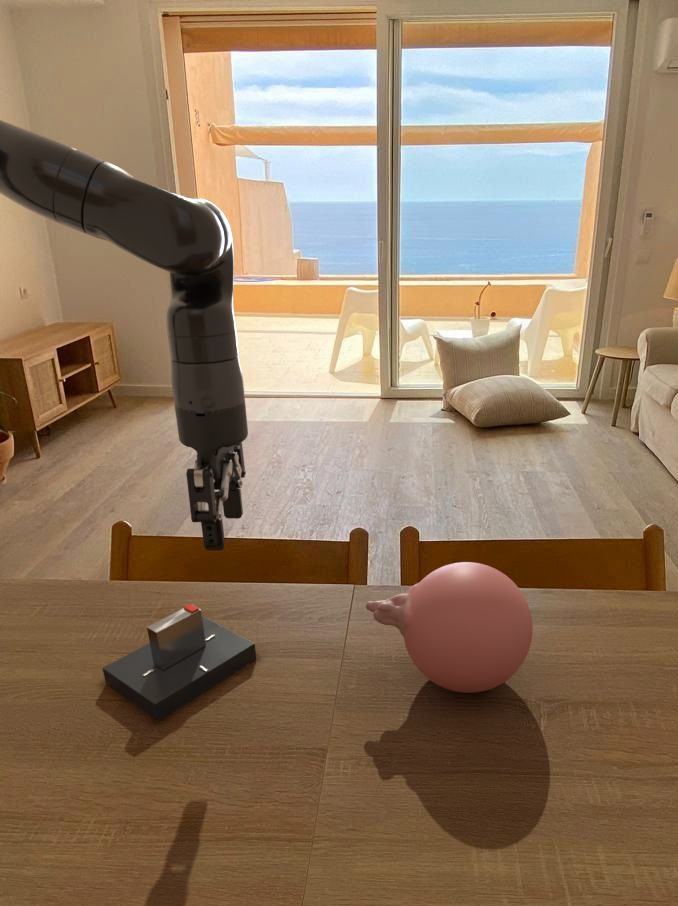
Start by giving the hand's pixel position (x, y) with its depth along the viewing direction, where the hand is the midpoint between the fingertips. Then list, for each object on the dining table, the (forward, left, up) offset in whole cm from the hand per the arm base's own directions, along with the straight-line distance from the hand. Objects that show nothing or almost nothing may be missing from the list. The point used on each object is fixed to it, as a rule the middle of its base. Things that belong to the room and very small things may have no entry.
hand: (224, 532), depth 82 cm
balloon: (+19, -18, -19) cm, 33 cm away
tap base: (-7, +3, -19) cm, 20 cm away
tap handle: (-7, +3, -16) cm, 18 cm away
